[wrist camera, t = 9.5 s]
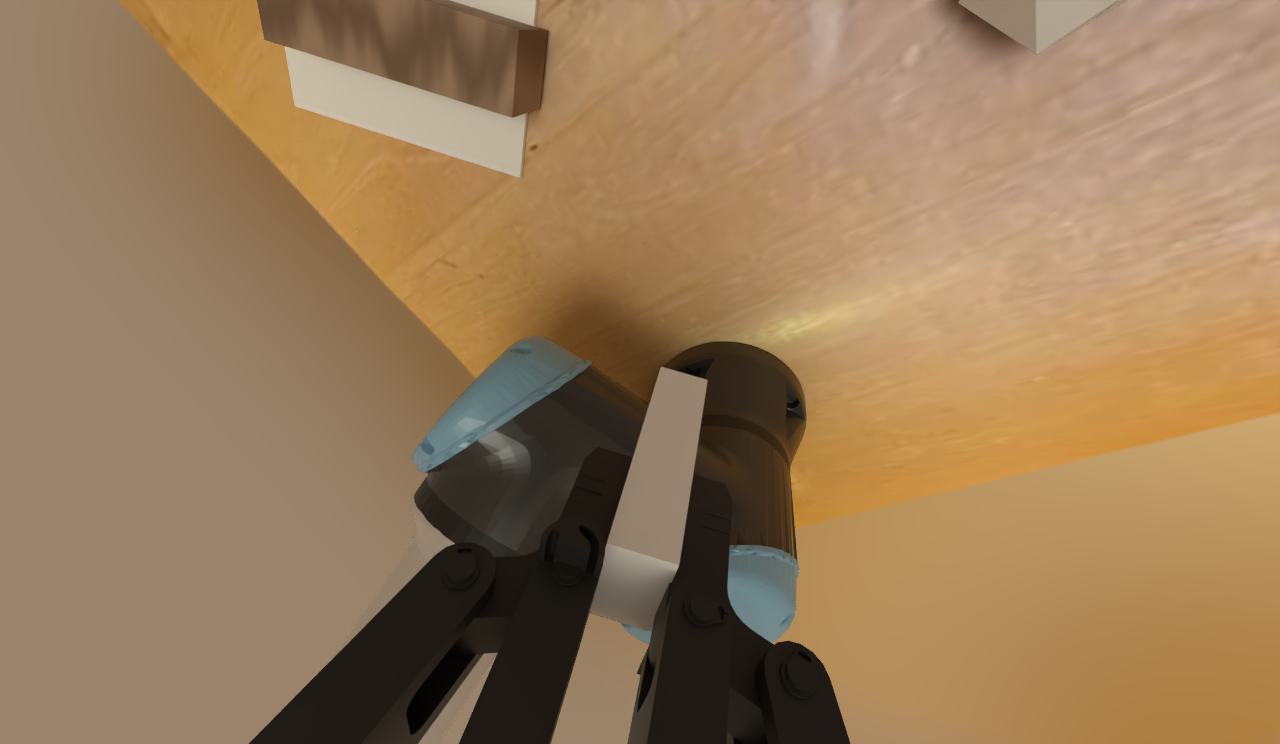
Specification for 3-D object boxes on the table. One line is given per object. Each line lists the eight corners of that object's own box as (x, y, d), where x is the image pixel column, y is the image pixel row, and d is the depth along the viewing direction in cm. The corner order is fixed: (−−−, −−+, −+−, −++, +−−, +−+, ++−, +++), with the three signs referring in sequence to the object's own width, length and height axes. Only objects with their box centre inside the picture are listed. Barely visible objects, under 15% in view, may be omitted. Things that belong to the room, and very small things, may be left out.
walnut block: (512, 117, 33) (264, 39, 33) (539, 108, 37) (318, 39, 37) (518, 29, 30) (246, -55, 30) (547, 30, 34) (307, -44, 34)
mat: (522, 176, 40) (520, 178, 40) (299, 105, 41) (294, 106, 41) (545, -77, 31) (542, -78, 31) (255, -165, 32) (248, -167, 31)
